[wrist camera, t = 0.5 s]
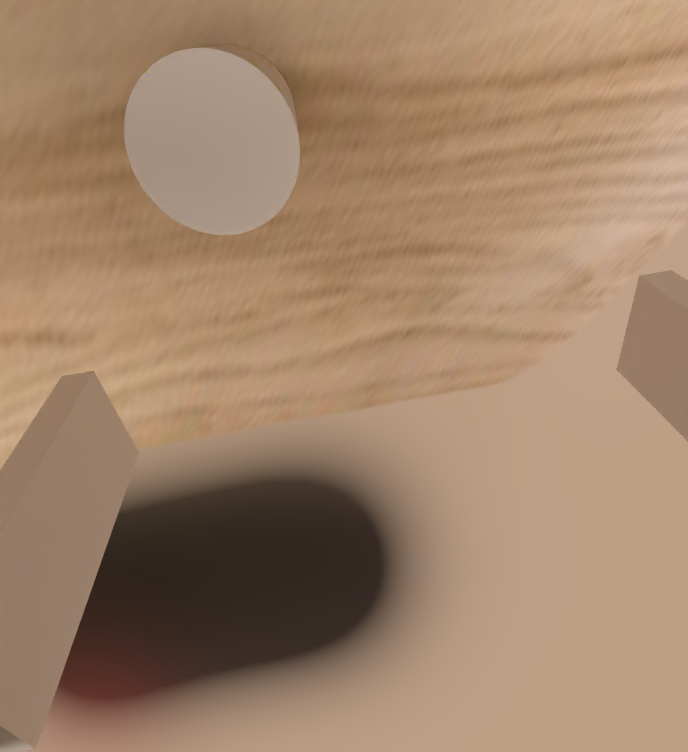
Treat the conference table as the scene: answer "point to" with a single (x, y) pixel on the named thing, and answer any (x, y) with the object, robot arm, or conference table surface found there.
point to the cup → (214, 138)
